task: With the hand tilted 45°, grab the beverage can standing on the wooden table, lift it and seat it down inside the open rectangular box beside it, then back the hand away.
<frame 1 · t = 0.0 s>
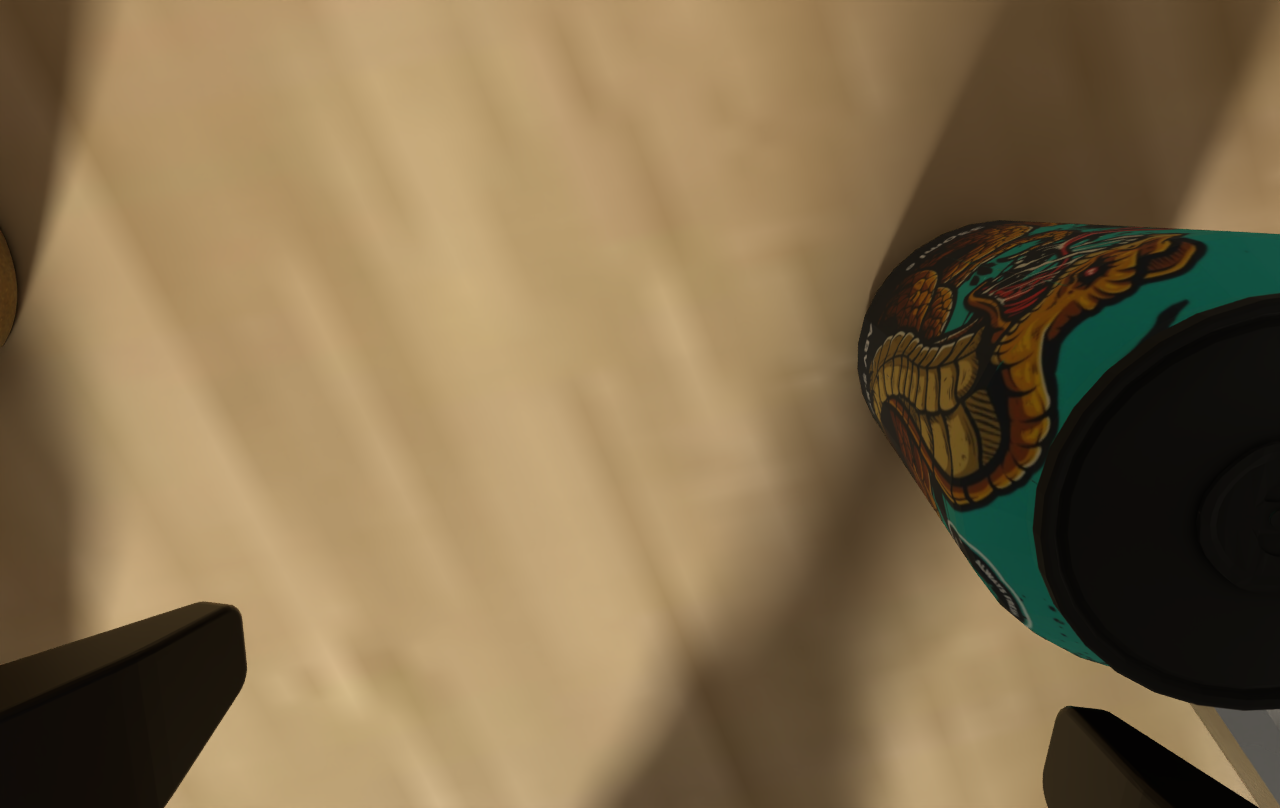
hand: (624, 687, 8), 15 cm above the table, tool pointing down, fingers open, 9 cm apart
beverage can: (978, 346, 21), on the table
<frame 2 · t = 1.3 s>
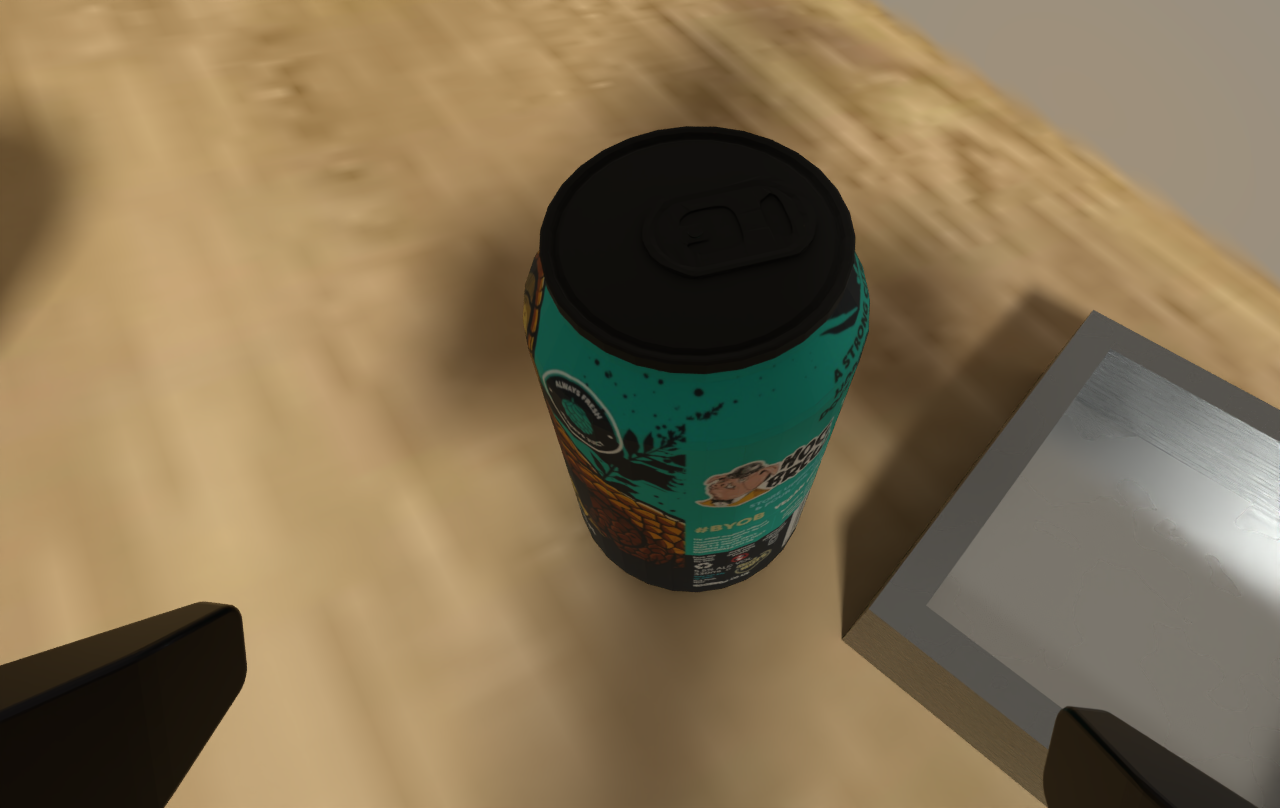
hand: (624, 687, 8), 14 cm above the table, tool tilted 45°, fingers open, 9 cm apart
open rectangular box: (1139, 622, 21), on the table
beverage can: (689, 493, 24), on the table
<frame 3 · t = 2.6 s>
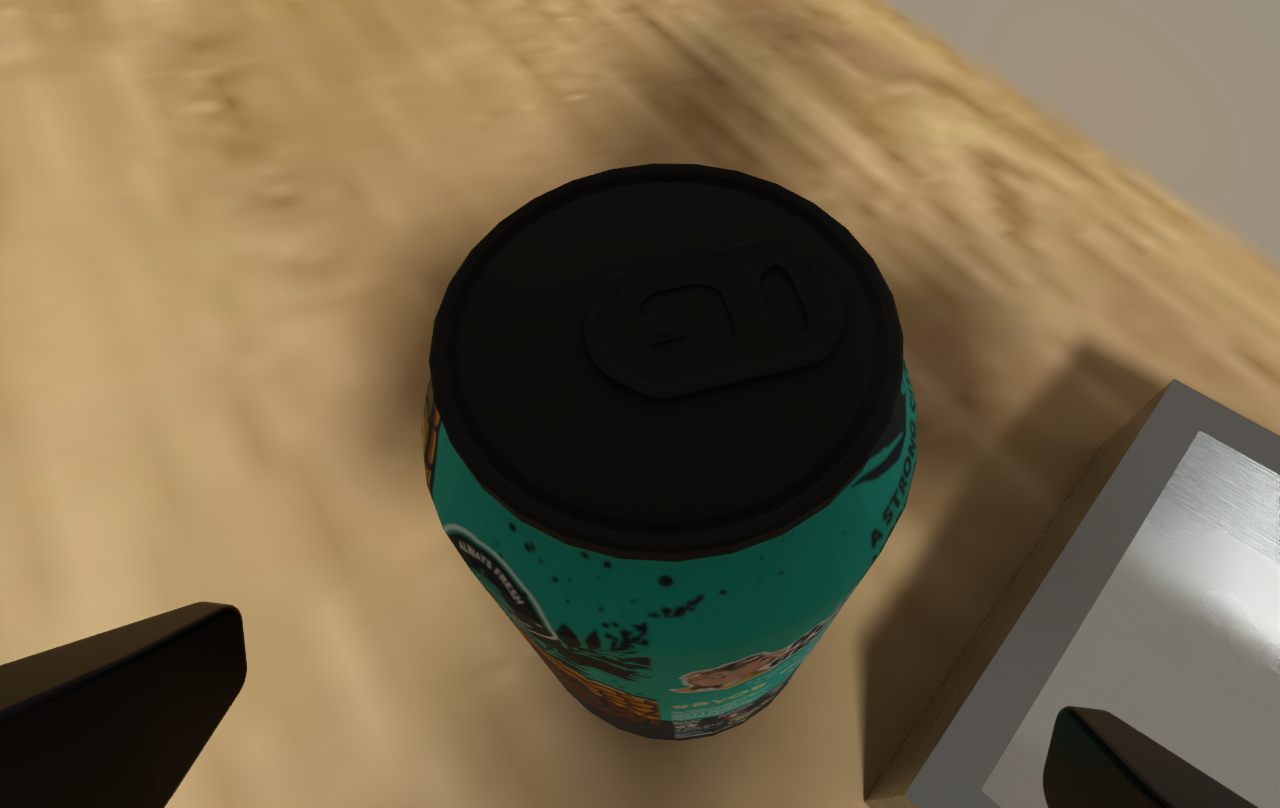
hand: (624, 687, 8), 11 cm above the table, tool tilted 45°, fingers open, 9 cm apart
open rectangular box: (1241, 779, 17), on the table
beverage can: (673, 599, 19), on the table
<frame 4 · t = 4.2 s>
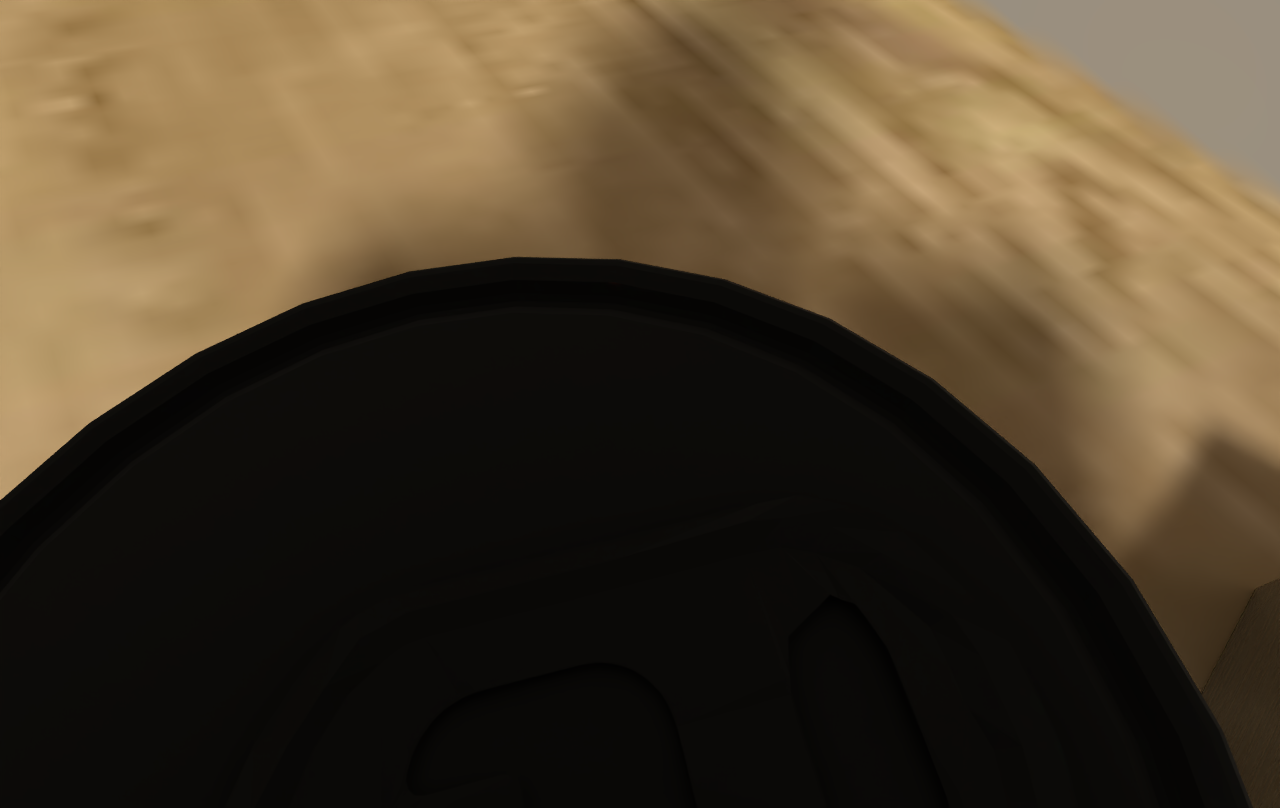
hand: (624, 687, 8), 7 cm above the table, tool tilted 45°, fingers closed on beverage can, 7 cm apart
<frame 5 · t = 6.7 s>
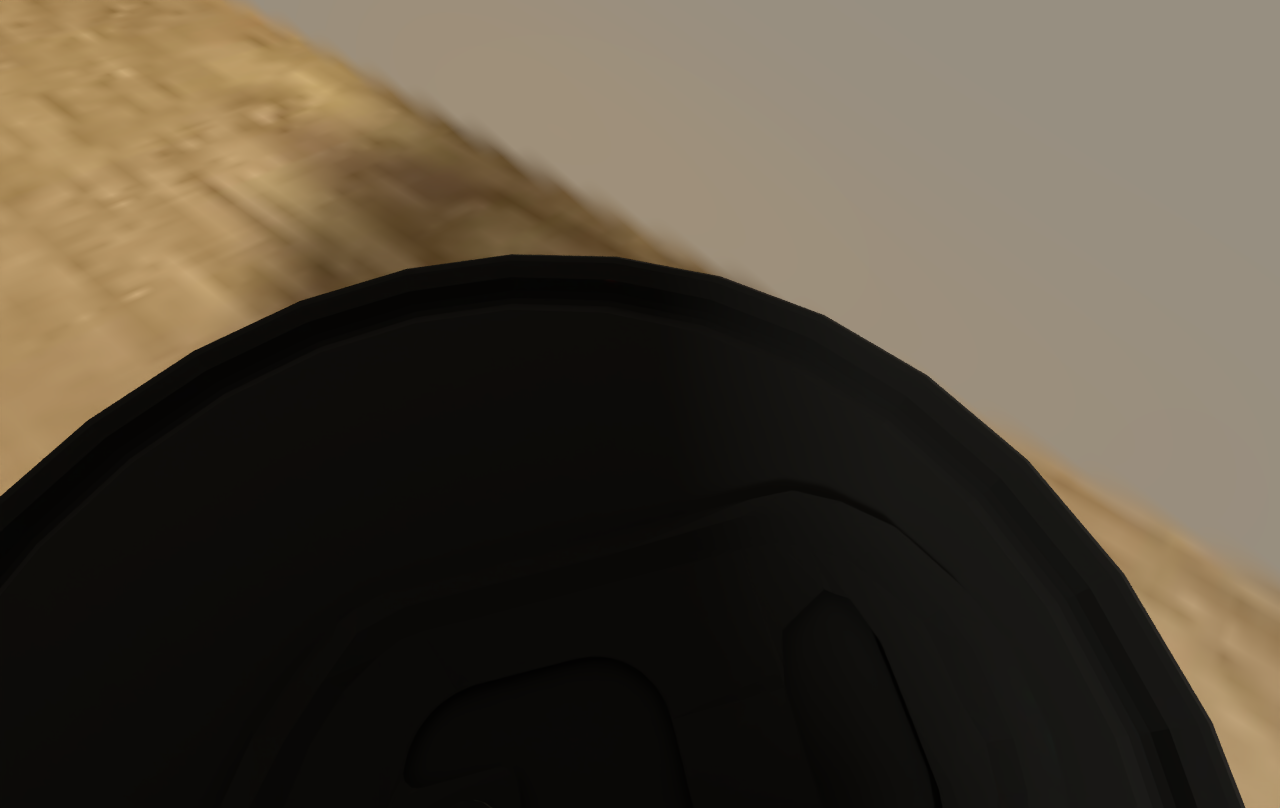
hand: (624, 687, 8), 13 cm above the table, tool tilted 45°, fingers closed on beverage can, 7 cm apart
when the fingers open (9 cm above the table, at t = 9.0 s): beverage can drops 1 cm, resting on open rectangular box.
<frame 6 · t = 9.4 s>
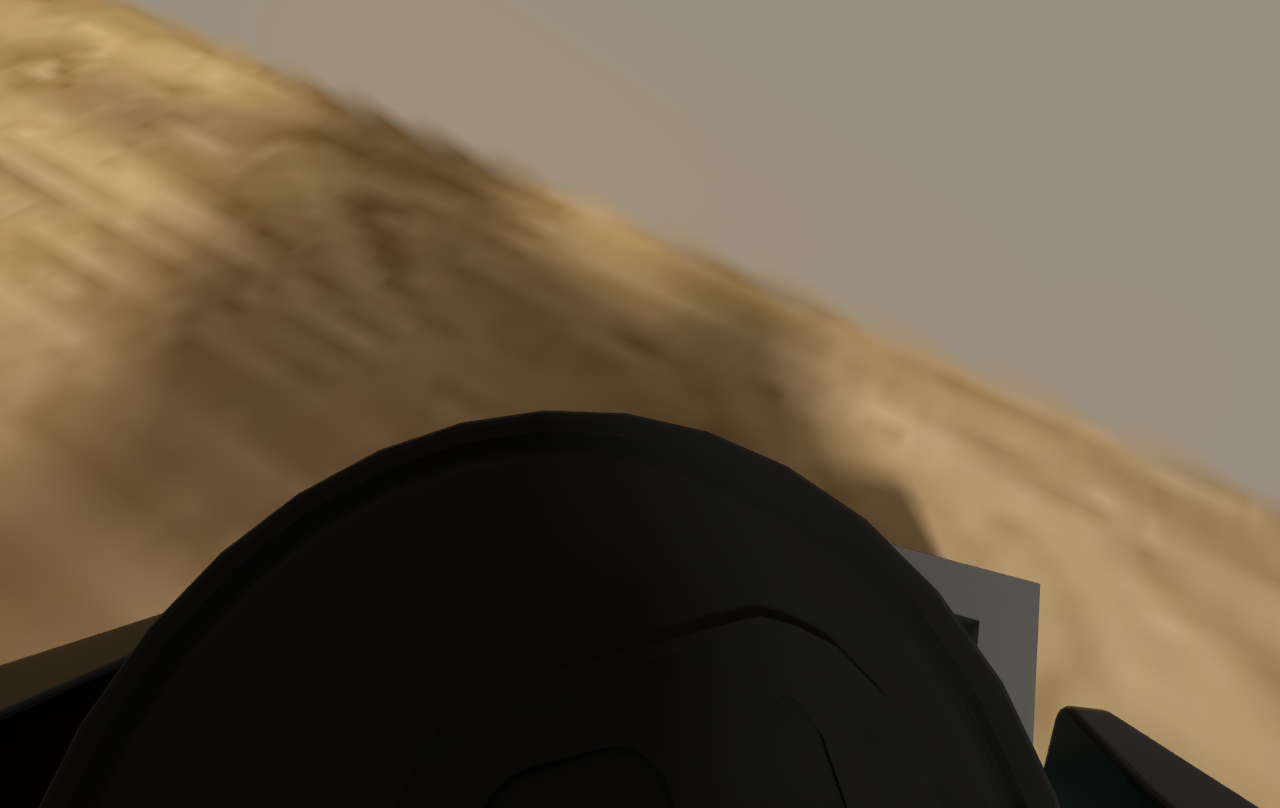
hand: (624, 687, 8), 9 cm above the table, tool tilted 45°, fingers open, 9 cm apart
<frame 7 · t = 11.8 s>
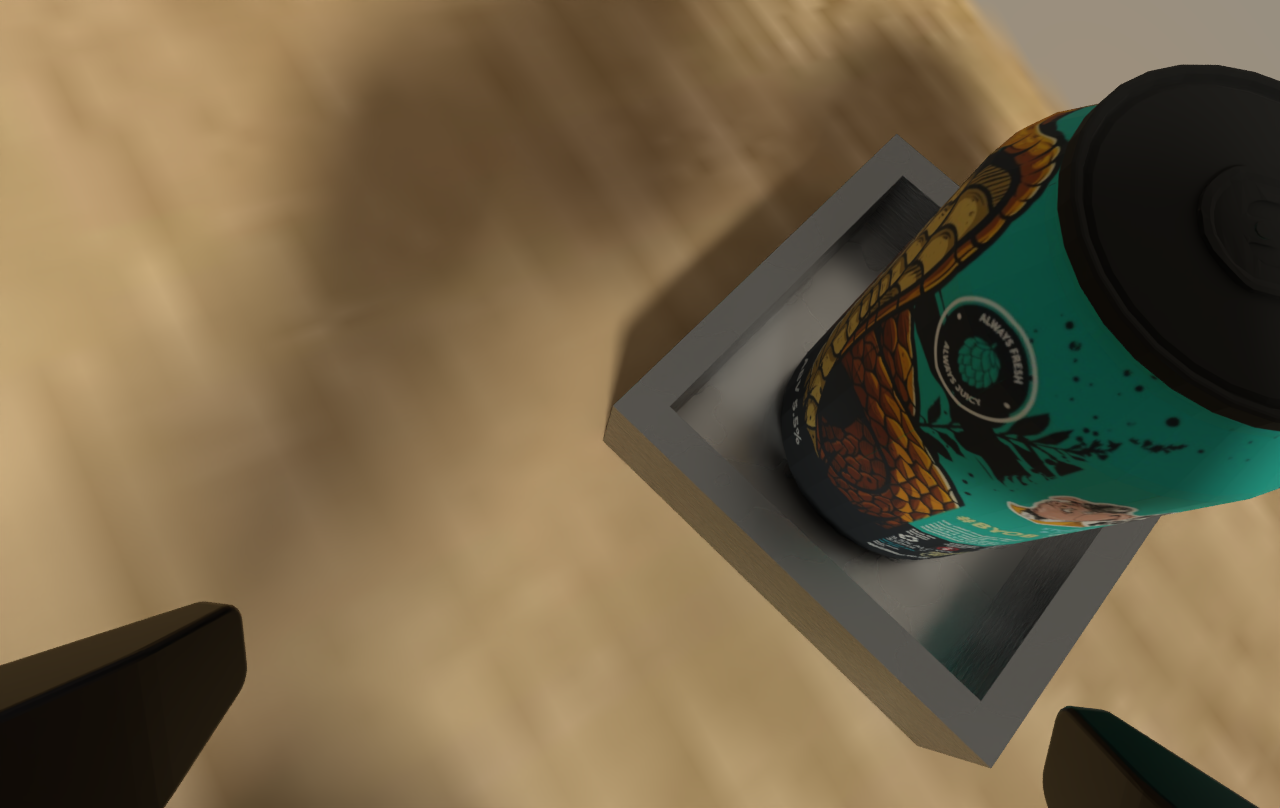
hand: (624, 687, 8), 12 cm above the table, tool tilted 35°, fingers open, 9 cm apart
open rectangular box: (880, 442, 22), on the table, touching beverage can
beverage can: (885, 443, 22), point 1 cm above the table, touching open rectangular box
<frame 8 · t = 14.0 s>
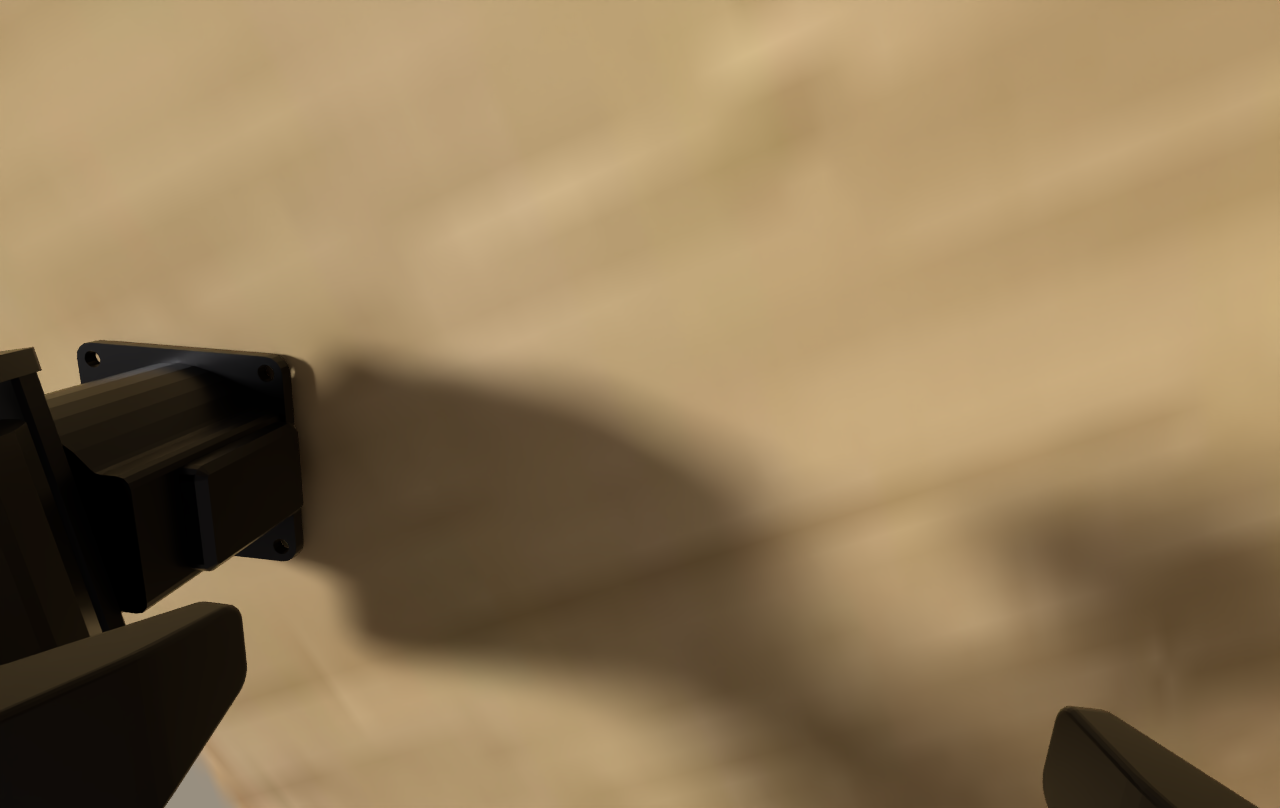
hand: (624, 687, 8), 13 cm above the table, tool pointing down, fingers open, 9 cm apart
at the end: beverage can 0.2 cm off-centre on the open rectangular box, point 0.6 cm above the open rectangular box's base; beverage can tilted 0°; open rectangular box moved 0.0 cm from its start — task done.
